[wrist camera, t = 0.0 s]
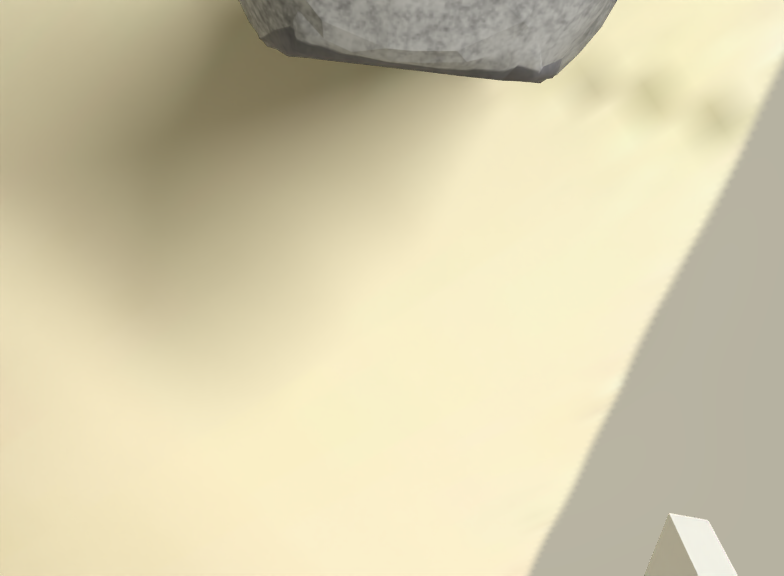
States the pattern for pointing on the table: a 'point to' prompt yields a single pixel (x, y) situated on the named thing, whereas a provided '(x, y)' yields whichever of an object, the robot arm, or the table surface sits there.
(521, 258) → the table surface
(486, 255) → the table surface
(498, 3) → the figurine
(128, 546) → the table surface
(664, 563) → the robot arm
